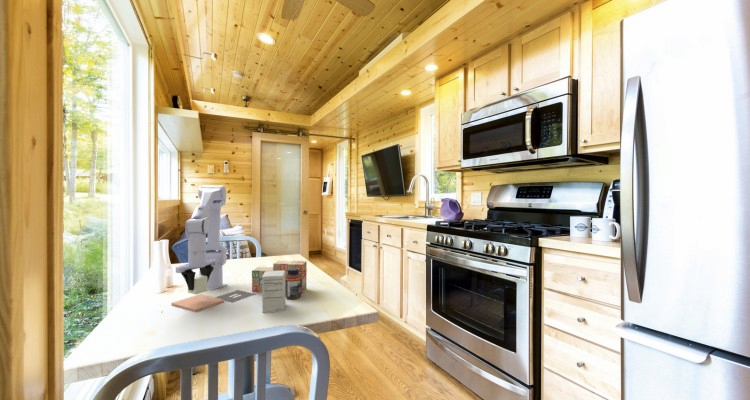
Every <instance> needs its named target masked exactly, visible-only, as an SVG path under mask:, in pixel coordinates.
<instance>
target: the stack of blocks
mask: <svg viewBox="0 0 750 400" xmlns="http://www.w3.org/2000/svg"><path fill="white" fill-rule="evenodd" d="M272 266H273V267H271V266H269V267H268V266H258V267H256V268H254V269H252V270H251V293H262V276H263V274H264V272H265V271H285V276H286V275H287V274H288V269H289V268H298V273H299V274H300V275H301V295H303V294H304V293H305V291H306V290H307V276H308V275H307V272H308V271H307V269H308V268H307V261H305V260H294V259H293V260H277V261H275V262H273V264H272ZM285 294H286V285H285Z"/></svg>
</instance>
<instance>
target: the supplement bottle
mask: <svg viewBox="0 0 750 400" xmlns="http://www.w3.org/2000/svg"><path fill="white" fill-rule="evenodd" d="M285 285H286V293H285V299H288V300H297V299H299V298H301V297H302V294H301V275H300V274H299V273H298V268H289V269H288V274H287V275H286V276H285Z"/></svg>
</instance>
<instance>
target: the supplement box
mask: <svg viewBox="0 0 750 400" xmlns="http://www.w3.org/2000/svg"><path fill="white" fill-rule="evenodd" d="M261 297H262V298H261V301H262V303H261V304H262V310H261V311H262V313H275V312H276V313H277V312H278V313H279V312H284V311H285V309H286V308H285V307H286V303H287V302H286V293H285V271H265V272H264V274H263V276H262V292H261Z"/></svg>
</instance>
